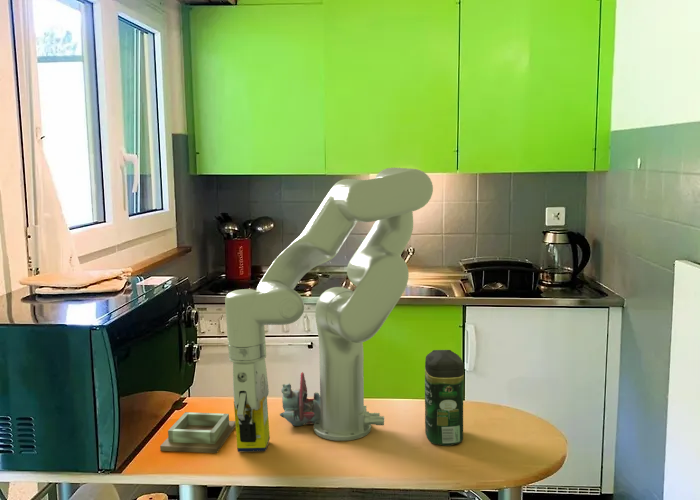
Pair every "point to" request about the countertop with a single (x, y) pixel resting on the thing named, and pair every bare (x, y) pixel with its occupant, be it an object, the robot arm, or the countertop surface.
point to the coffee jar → (444, 397)
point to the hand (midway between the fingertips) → (252, 433)
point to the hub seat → (198, 433)
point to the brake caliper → (300, 405)
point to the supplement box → (261, 429)
